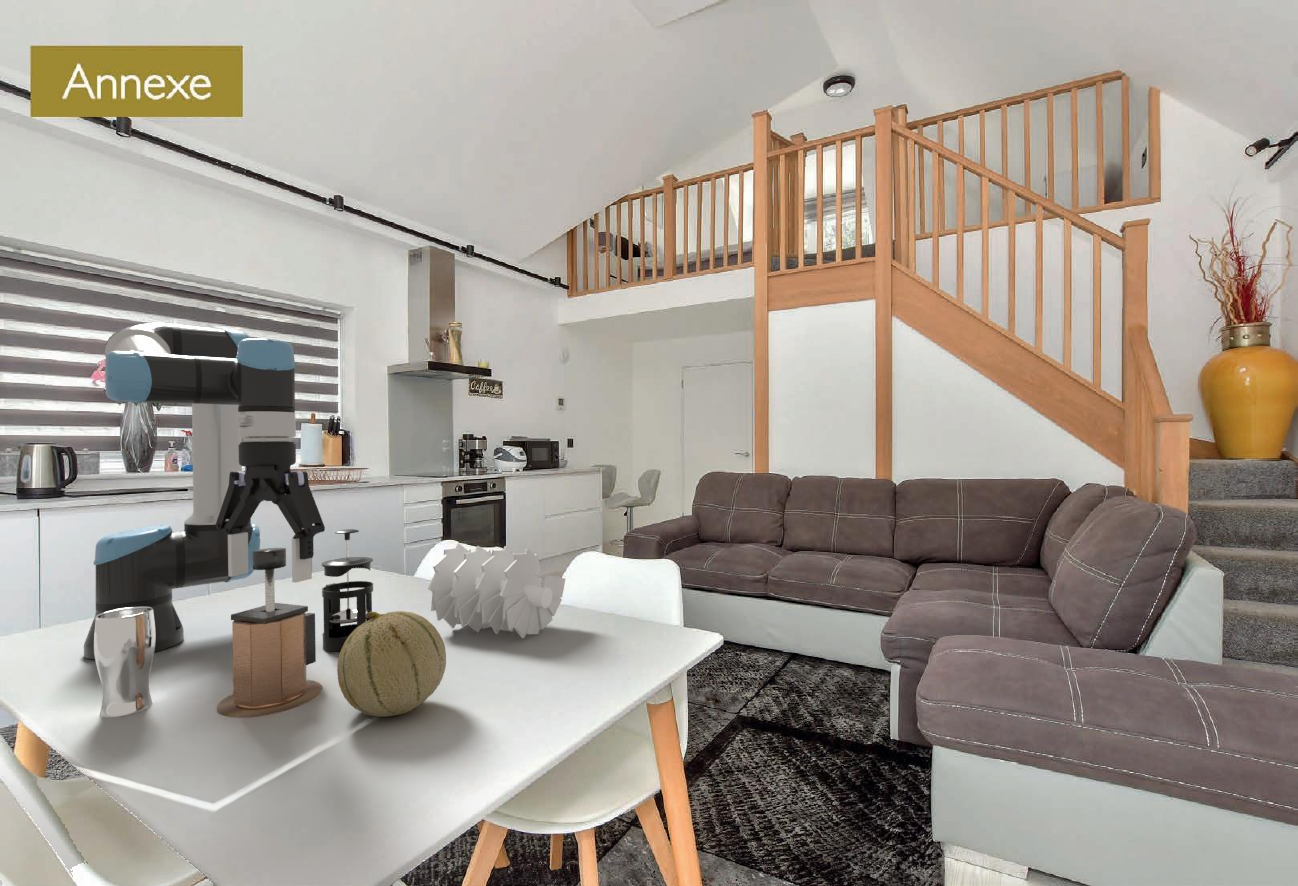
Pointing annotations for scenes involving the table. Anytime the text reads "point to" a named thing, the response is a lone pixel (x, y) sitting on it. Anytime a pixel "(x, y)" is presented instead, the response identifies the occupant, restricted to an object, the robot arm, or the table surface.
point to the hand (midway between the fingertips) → (269, 577)
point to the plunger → (269, 570)
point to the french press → (332, 595)
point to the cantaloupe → (391, 663)
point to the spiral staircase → (494, 590)
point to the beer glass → (124, 659)
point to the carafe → (271, 655)
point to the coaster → (231, 710)
